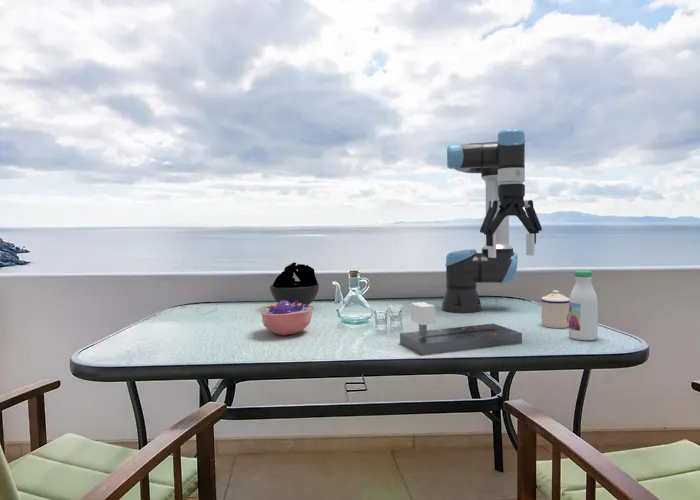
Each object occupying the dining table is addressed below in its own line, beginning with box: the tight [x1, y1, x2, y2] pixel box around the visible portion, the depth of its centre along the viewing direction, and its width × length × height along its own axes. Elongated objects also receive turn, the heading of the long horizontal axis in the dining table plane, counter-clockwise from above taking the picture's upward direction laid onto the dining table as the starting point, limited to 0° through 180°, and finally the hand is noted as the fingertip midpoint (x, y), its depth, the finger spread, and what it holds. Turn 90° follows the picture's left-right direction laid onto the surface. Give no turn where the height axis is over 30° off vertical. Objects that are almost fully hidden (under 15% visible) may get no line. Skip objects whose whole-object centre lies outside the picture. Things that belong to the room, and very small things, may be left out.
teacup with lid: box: [540, 289, 570, 329], centre depth 169 cm, size 12×9×12 cm
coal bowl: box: [269, 261, 320, 306], centre depth 209 cm, size 20×20×19 cm
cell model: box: [260, 301, 313, 336], centre depth 165 cm, size 17×20×11 cm
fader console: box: [399, 323, 523, 356], centre depth 147 cm, size 14×32×3 cm, turn 109°
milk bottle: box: [568, 269, 599, 341], centre depth 150 cm, size 8×8×20 cm
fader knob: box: [410, 301, 436, 336], centre depth 143 cm, size 7×4×9 cm, turn 19°
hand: (511, 256), depth 149 cm, fingers open, 13 cm apart
